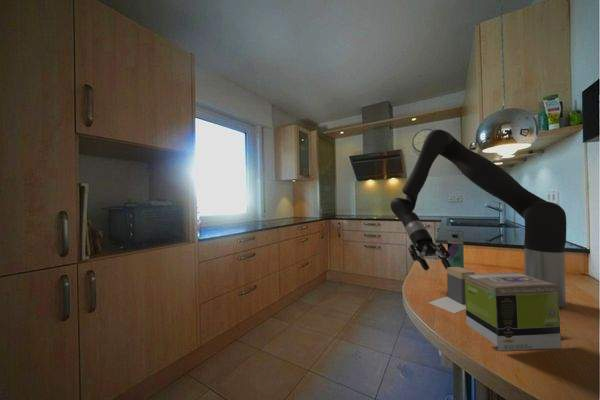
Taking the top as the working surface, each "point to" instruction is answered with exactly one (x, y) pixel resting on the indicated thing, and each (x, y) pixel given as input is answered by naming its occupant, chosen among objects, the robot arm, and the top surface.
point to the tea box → (513, 310)
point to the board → (448, 304)
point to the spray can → (455, 251)
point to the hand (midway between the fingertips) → (438, 268)
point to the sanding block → (457, 283)
